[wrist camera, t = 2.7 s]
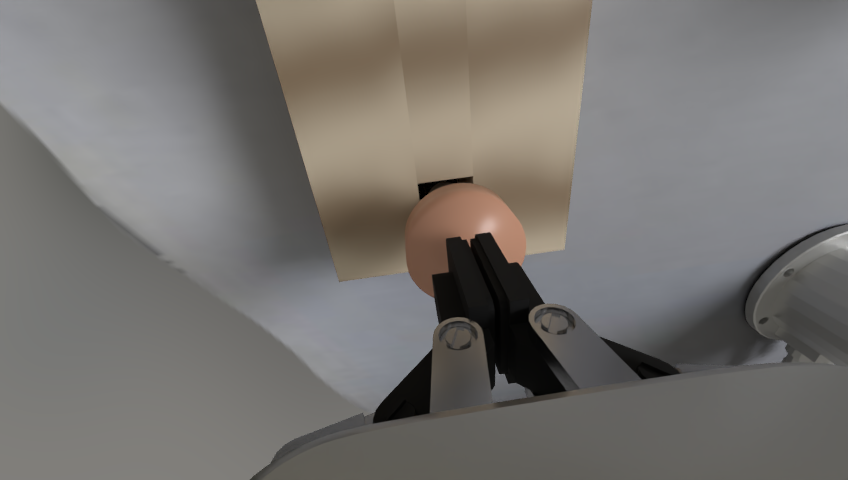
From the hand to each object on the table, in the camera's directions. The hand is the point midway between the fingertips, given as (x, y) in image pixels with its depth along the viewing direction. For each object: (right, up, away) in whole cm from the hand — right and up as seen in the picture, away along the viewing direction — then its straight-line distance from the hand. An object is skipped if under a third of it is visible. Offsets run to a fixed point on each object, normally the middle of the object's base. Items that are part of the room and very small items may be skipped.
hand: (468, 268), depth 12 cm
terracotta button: (-1, +4, +7) cm, 8 cm away
